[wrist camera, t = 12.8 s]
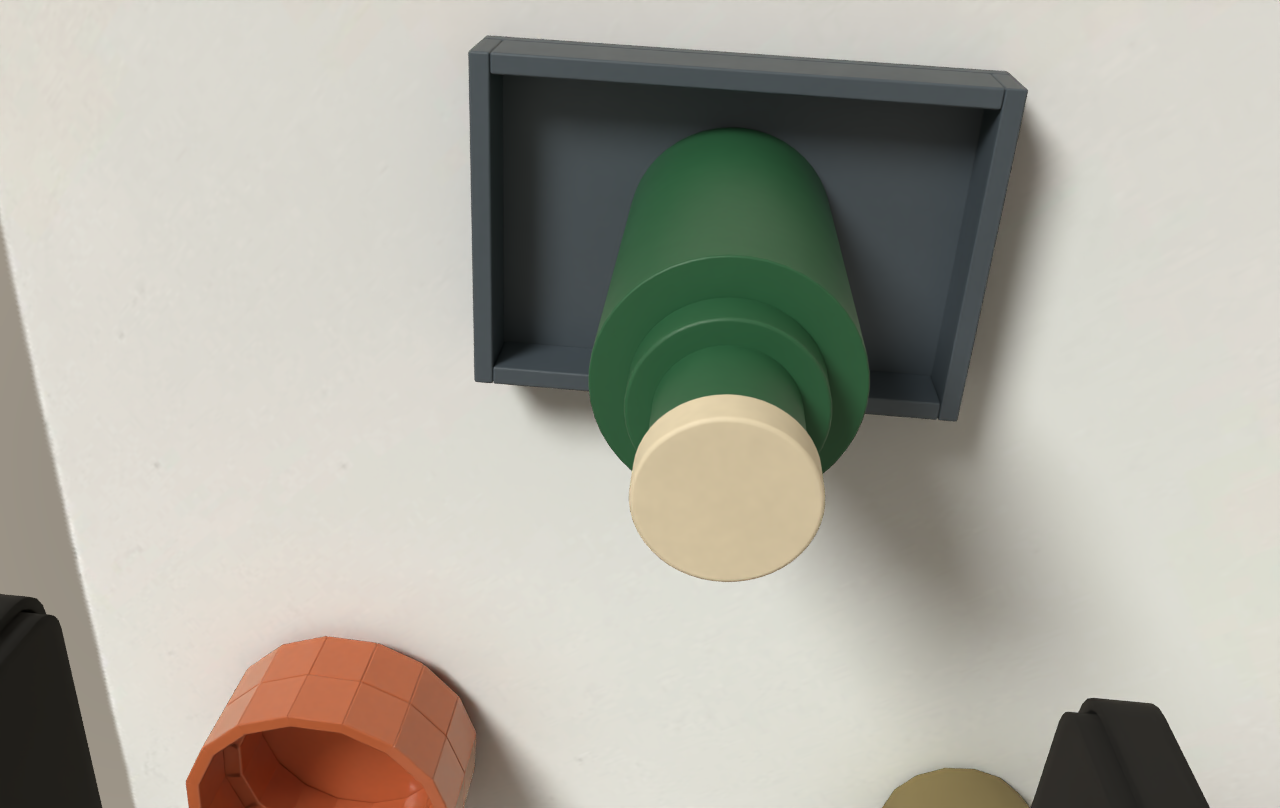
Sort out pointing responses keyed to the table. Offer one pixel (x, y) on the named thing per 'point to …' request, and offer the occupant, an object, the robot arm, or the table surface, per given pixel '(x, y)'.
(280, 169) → the table surface
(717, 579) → the bottle
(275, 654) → the bowl
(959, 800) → the squeeze bottle
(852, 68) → the tray
